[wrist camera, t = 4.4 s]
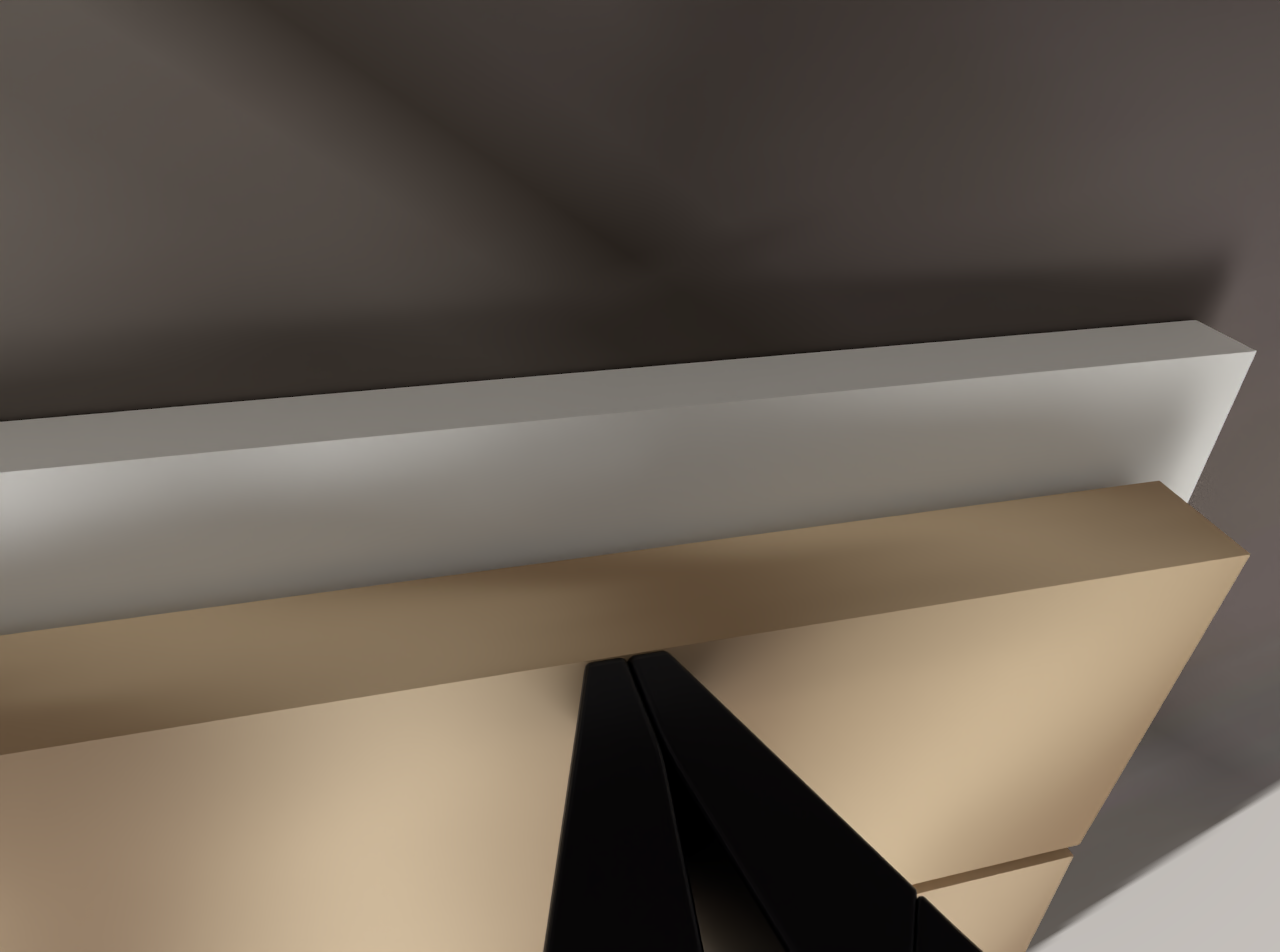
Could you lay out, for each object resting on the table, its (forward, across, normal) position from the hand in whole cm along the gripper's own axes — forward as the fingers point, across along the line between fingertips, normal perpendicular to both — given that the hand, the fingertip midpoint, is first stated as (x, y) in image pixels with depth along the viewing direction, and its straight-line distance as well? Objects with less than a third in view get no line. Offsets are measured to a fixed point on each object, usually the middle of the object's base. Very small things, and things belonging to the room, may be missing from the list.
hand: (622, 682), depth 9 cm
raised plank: (+1, 0, +2) cm, 3 cm away
